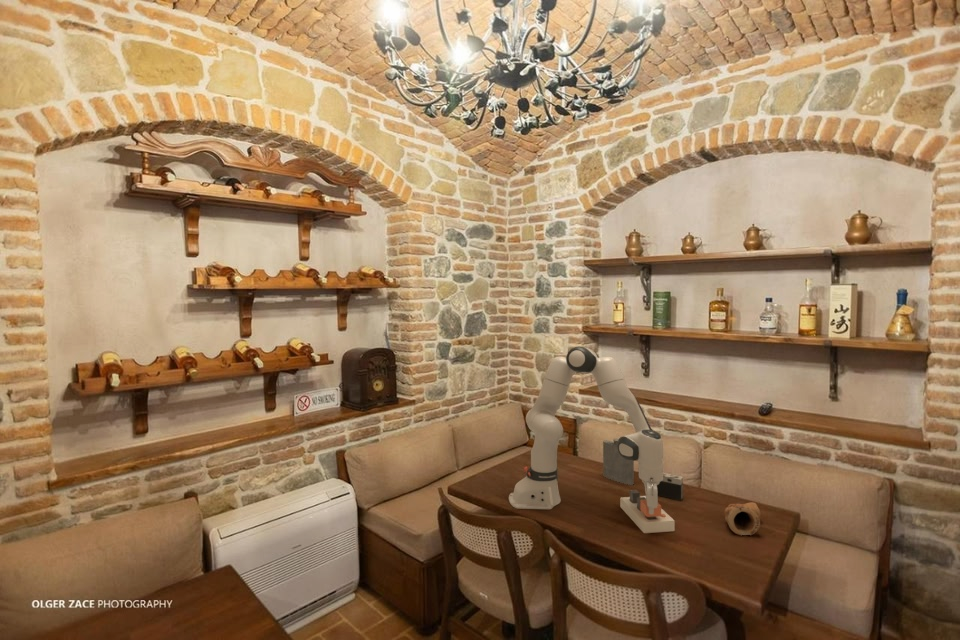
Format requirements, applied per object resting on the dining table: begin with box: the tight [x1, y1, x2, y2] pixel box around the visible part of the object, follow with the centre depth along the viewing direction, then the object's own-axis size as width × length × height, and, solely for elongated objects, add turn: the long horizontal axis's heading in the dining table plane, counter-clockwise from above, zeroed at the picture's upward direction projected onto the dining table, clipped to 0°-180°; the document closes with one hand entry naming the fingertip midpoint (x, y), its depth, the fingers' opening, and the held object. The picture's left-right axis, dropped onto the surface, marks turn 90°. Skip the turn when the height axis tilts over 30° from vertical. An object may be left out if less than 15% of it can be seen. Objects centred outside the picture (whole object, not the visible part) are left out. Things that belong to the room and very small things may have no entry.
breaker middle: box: [637, 497, 646, 511], centre depth 187 cm, size 3×3×4 cm
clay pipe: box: [724, 501, 762, 536], centre depth 179 cm, size 19×11×15 cm
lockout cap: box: [640, 500, 662, 517], centre depth 180 cm, size 6×6×4 cm
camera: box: [657, 472, 684, 502], centre depth 209 cm, size 14×8×10 cm, turn 53°
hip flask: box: [602, 438, 635, 486], centre depth 225 cm, size 16×4×20 cm, turn 42°
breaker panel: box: [619, 495, 676, 534], centre depth 187 cm, size 12×22×4 cm, turn 6°
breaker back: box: [629, 489, 641, 503], centre depth 194 cm, size 3×3×4 cm
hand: (650, 508), depth 180 cm, fingers closed on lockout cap, 7 cm apart
